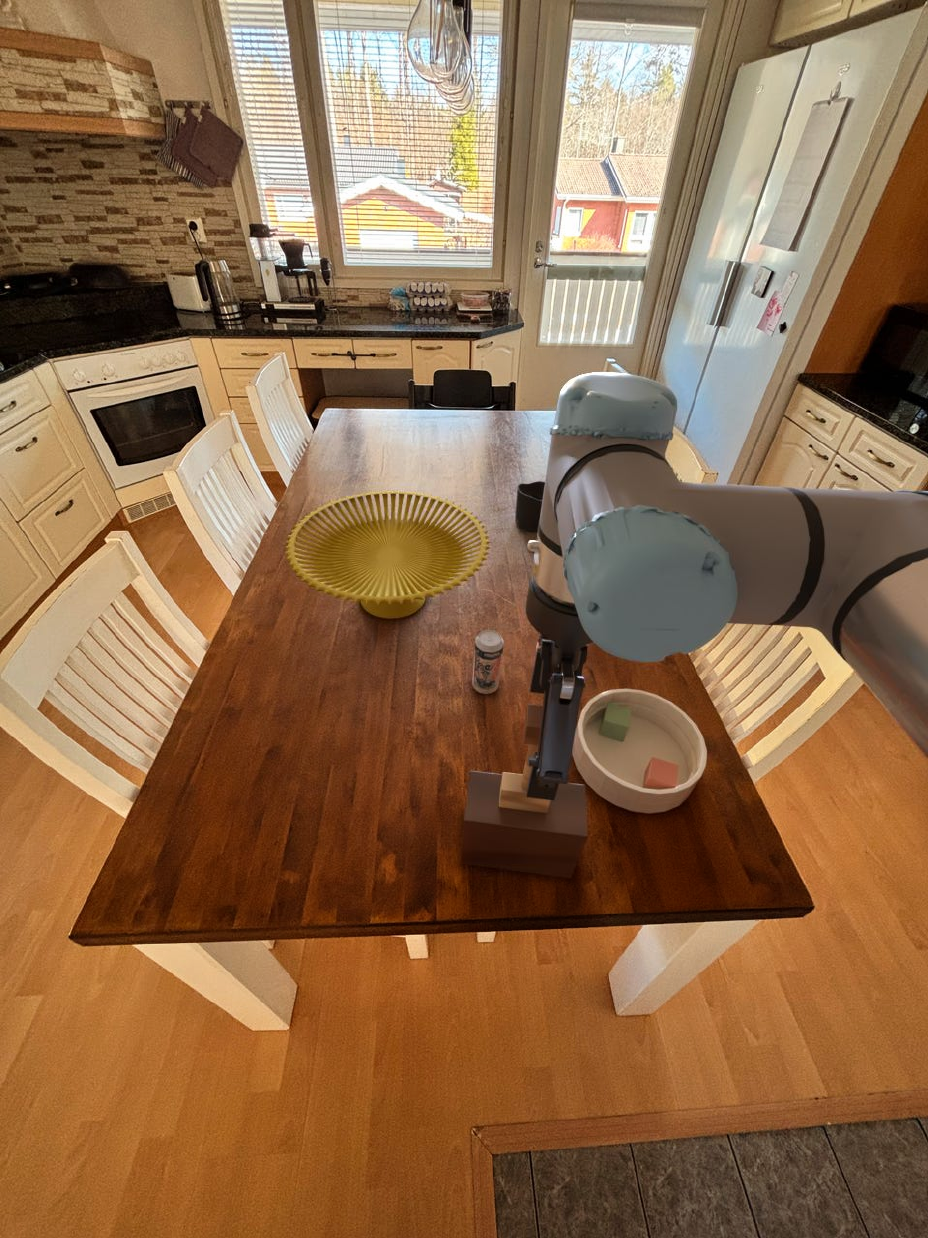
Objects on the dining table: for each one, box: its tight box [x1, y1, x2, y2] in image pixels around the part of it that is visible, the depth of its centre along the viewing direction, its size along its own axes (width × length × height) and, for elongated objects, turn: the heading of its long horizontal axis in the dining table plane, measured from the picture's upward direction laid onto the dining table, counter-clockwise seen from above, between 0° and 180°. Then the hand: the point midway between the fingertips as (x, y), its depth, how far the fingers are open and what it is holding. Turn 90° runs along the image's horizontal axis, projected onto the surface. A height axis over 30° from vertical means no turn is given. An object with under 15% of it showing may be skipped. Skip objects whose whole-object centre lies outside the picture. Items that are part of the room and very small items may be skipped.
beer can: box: [471, 629, 505, 695], centre depth 92 cm, size 5×5×12 cm
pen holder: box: [514, 480, 545, 532], centre depth 136 cm, size 9×9×10 cm
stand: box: [460, 770, 589, 879], centre depth 70 cm, size 7×15×12 cm, turn 83°
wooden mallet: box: [499, 703, 551, 813], centre depth 61 cm, size 6×3×17 cm, turn 83°
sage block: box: [599, 702, 632, 742], centre depth 88 cm, size 4×4×4 cm
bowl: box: [572, 688, 708, 814], centre depth 84 cm, size 19×19×6 cm
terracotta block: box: [643, 757, 679, 790], centre depth 80 cm, size 4×4×4 cm
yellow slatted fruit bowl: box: [282, 489, 491, 620], centre depth 109 cm, size 40×40×15 cm
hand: (540, 738), depth 57 cm, fingers open, 13 cm apart
